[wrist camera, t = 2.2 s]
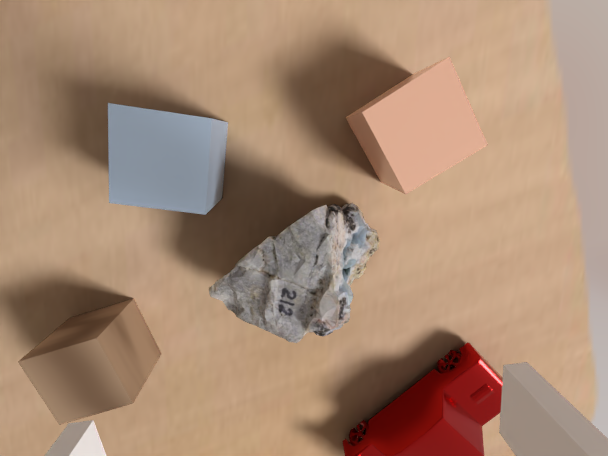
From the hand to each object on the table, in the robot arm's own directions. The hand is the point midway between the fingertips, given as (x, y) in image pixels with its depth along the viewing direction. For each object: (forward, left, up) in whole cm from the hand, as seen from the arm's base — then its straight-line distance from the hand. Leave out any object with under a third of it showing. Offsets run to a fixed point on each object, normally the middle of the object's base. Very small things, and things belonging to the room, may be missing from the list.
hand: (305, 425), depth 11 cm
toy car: (+9, -15, -14) cm, 22 cm away
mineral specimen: (0, 0, -14) cm, 14 cm away
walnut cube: (-14, -4, -14) cm, 20 cm away
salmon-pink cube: (+8, +8, -14) cm, 18 cm away
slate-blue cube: (-6, +8, -14) cm, 17 cm away
